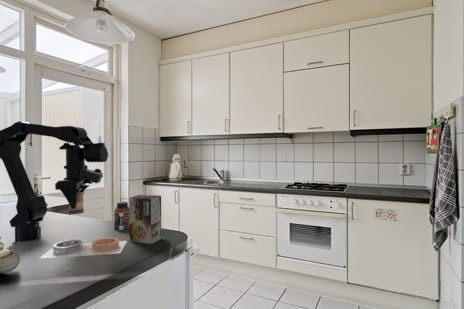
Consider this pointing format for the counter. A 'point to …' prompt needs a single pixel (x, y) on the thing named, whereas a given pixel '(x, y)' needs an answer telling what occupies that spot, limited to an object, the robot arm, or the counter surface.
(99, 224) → the counter surface
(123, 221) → the supplement bottle
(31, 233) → the robot arm
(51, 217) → the counter surface
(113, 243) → the terracotta socket
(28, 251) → the counter surface
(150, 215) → the coffee box
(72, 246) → the grey ring
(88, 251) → the socket board
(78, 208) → the banded peg
